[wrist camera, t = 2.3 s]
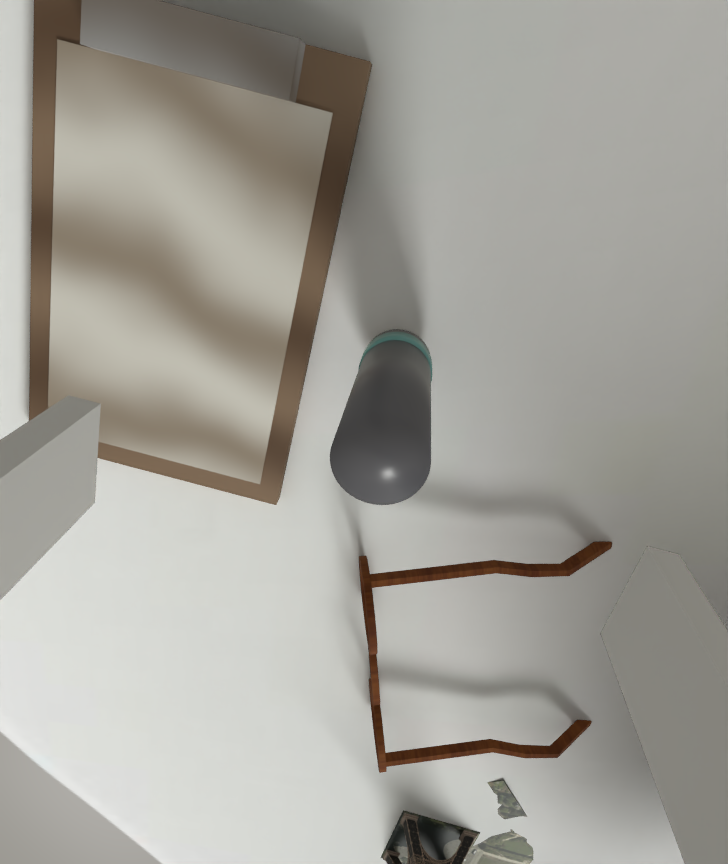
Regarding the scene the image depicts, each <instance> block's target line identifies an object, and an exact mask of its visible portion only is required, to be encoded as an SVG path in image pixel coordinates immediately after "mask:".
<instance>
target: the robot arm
mask: <svg viewBox="0 0 728 864" xmlns="http://www.w3.org/2000/svg"><path fill="white" fill-rule="evenodd" d="M100 408H101V404H100V403H96V402H93V401H89V400H85V399H81V398H77V397H73V396H70V395H68V396H67V397H65V398H63V399H62V400H60V401H59V402H57V403H56V404H54V405H53V406H51V407H50V408H48V409H47V410H45V411H44V412H42V413H41V414H39V415H38V416H36V417H35V418H33V419H32V420H30V421H28V422H27V423H25V424H24V425H22V426H21V427H19V428H18V429H16V430H15V431H13V432H12V433H10V434H9V435H7V436H6V437H4V438H3V439H1V440H0V600H1V599H2V598H3V597H4V596H5V595H6V594H7V593H8V592H9V591H10V590H11V589H12V588H13V587H14V586H15V584H16V583H17V582H18V581H19V580H20V579H21V578H22V577H23V576H24V575H25V574H26V573H27V572H28V571H29V570H30V569H31V568H32V567H33V566H34V565H35V564H36V563H37V562H38V561H39V560H40V559H41V558H42V557H43V556H44V555H45V554H46V552H47V551H48V550H49V549H50V548H51V547H52V546H53V545H54V544H55V543H56V542H57V541H58V540H59V539H60V538H61V537H62V536H63V535H64V534H65V533H66V532H67V531H68V530H69V529H70V528H71V527H72V526H73V525H74V524H75V523H76V522H77V520H78V519H79V518H80V517H81V516H82V515H83V514H84V513H85V512H86V511H87V510H88V509H89V508H90V507H91V506H92V505H93V504H94V503H95V491H96V475H97V458H98V441H99V425H100ZM601 636H602V639H603V642H604V644H605V647H606V650H607V653H608V655H609V658H610V661H611V663H612V666H613V669H614V672H615V674H616V677H617V680H618V683H619V685H620V688H621V691H622V694H623V696H624V699H625V702H626V705H627V707H628V710H629V713H630V715H631V718H632V721H633V724H634V726H635V729H636V732H637V735H638V737H639V740H640V743H641V746H642V748H643V751H644V754H645V757H646V759H647V762H648V765H649V767H650V770H651V773H652V776H653V778H654V781H655V784H656V787H657V789H658V792H659V795H660V798H661V800H662V803H663V806H664V809H665V811H666V814H667V817H668V819H669V822H670V825H671V828H672V830H673V833H674V836H675V839H676V841H677V844H678V847H679V850H680V852H681V855H682V858H683V860H684V863H685V864H728V631H727V629H726V627H725V626H724V624H723V623H722V621H721V620H720V618H719V616H718V615H717V613H716V612H715V610H714V609H713V607H712V605H711V604H710V602H709V601H708V599H707V598H706V596H705V594H704V593H703V591H702V590H701V588H700V587H699V585H698V584H697V582H696V580H695V579H694V577H693V576H692V574H691V573H690V571H689V569H688V568H687V566H686V565H685V563H684V562H683V560H682V558H681V557H680V555H679V554H676V553H672V552H668V551H665V550H661V549H657V548H653V547H649V546H647V548H646V549H645V551H644V553H643V555H642V557H641V559H640V561H639V562H638V564H637V566H636V568H635V570H634V572H633V574H632V575H631V577H630V579H629V581H628V583H627V585H626V587H625V588H624V590H623V592H622V594H621V596H620V598H619V600H618V602H617V603H616V605H615V607H614V609H613V611H612V613H611V615H610V616H609V618H608V620H607V622H606V624H605V626H604V628H603V629H602V631H601Z"/></svg>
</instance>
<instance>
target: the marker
mask: <svg viewBox="0 0 728 864" xmlns="http://www.w3.org/2000/svg"><path fill="white" fill-rule="evenodd" d="M431 381H432V360H431V356H430V353H429V350H428V348H427V346H426V344H425V343H424V342H423V341H422V339H421V338H419V337H418V336H417V335H415V334H414V333H411V332H409V331H406V330H400V329H394V330H388V331H385V332H383V333H381V334H379V335H378V336H376V337H375V338H374V339H373V340H372V341H371V342H370V344H369V345H368V346H367V348H366V349H365V351H364V353H363V356H362V359H361V362H360V365H359V370H358V374H357V376H356V379H355V382H354V385H353V388H352V390H351V393H350V396H349V399H348V402H347V404H346V407H345V410H344V413H343V416H342V418H341V421H340V424H339V427H338V430H337V432H336V435H335V438H334V441H333V444H332V447H331V452H330V463H331V468H332V472H333V474H334V476H335V478H336V480H337V482H338V483H339V484H340V486H341V487H342V488H343V489H344V490H345V491H346V492H347V493H349V494H350V495H351V496H353V497H355V498H357V499H359V500H361V501H364V502H367V503H371V504H377V505H388V504H394V503H398V502H401V501H403V500H406V499H408V498H409V497H411V496H412V495H414V494H415V493H416V492H417V491H418V490H419V489H420V488H421V487H422V486H423V484H424V483H425V481H426V479H427V477H428V474H429V471H430V465H431Z"/></svg>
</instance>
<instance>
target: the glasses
mask: <svg viewBox="0 0 728 864" xmlns="http://www.w3.org/2000/svg"><path fill="white" fill-rule="evenodd" d="M611 547H612V542H593V543H592V544H590V545H589V546H587V547H586V548H584V549H582V550H581V551H579V552H578V553H576V554H575V555H573V556H572V557H570V558H569V559H567V560H565V561H564V562H562V563H561V564H523V563H514V562H505V561H496V560H491V561H482V562H473V563H465V564H456V565H447V566H439V567H430V568H421V569H412V570H404V571H395V572H386V573H378V574H370V573H369V567H368V561H367V557H366V556H359V570H360V582H361V593H362V602H363V611H364V620H365V627H366V635H367V642H368V650H369V661H370V673H371V678H370V679H369V689H370V700H371V710H372V720H373V729H374V737H375V745H376V753H377V760H378V767H379V772H380V773H381V772H386V767H388V766H395V765H402V764H410V763H417V762H424V761H432V760H439V759H447V758H454V757H461V756H469V755H476V754H483V753H491V752H494V753H500V754H505V755H511V756H516V757H522V758H558V757H559V756H560V755H561V754H562V753H563V752H564V751H565V750H566V749H567V748H568V747H569V746H570V745H571V744H572V743H573V742H574V741H575V740H576V739H577V738H578V737H579V736H580V735H581V734H582V733H583V732H584V731H585V730H586V729H587V728H588V727H589V726H590V724H591V722H592V721H587V720H577V721H575V722H574V723H573V724H572V725H571V726H570V727H569V728H568V729H567V730H566V731H565V732H564V733H563V734H562V735H561V736H560V737H559V738H558V739H557V740H556V741H555V742H554V743H553V744H551V745H550V746H535V745H518V744H513V743H508V742H502V741H497V740H492V739H487V740H479V741H472V742H464V743H457V744H449V745H442V746H434V747H427V748H419V749H412V750H404V751H397V752H389V753H385V745H384V735H383V726H382V717H381V709H380V693H379V679H378V667H377V657H376V654H377V635H376V623H375V613H374V603H373V595H372V588H374V587H382V586H391V585H399V584H408V583H416V582H425V581H434V580H442V579H451V578H459V577H468V576H476V575H485V574H493V573H500V574H509V575H518V576H527V577H551V576H570V575H571V574H573V573H574V572H576V571H577V570H579V569H580V568H582V567H583V566H585V565H586V564H588V563H589V562H591V561H592V560H594V559H595V558H597V557H598V556H600V555H601V554H603V553H604V552H606V551H607V550H609V549H610V548H611Z"/></svg>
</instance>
